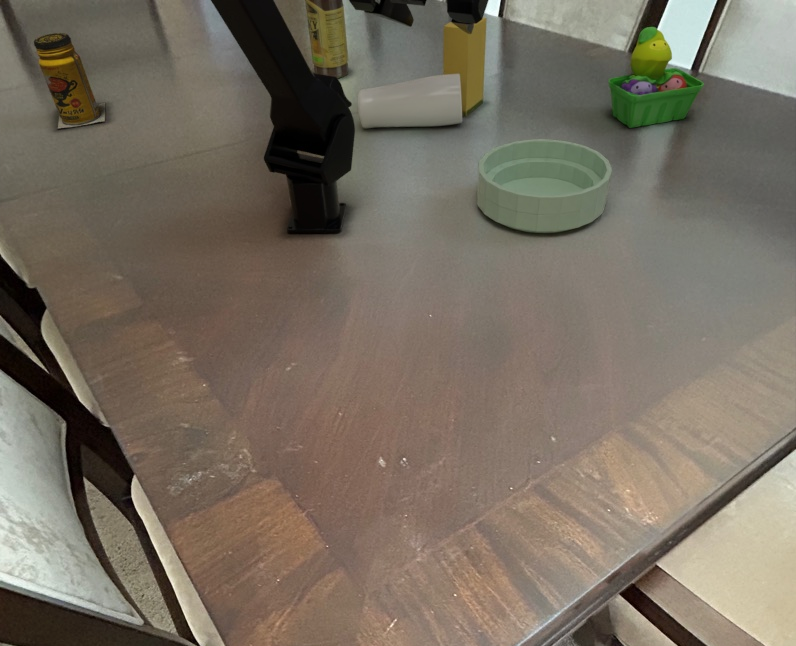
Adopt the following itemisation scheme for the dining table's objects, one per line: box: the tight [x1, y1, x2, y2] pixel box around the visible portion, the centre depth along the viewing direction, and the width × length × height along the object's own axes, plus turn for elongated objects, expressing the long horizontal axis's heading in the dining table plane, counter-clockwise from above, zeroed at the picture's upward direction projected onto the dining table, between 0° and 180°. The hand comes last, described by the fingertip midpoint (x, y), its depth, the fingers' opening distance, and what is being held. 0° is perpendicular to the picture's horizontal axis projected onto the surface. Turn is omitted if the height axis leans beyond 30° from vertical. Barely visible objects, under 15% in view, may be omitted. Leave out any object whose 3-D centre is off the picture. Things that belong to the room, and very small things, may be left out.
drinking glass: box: [357, 73, 463, 129], centre depth 99 cm, size 7×7×15 cm
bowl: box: [476, 138, 613, 234], centre depth 80 cm, size 15×15×5 cm
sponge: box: [442, 17, 488, 117], centre depth 101 cm, size 6×4×12 cm, turn 150°
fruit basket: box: [608, 26, 705, 129], centre depth 95 cm, size 11×9×11 cm
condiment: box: [33, 32, 106, 129], centre depth 105 cm, size 7×8×12 cm
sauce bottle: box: [304, 0, 349, 79], centre depth 112 cm, size 6×6×20 cm
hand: (440, 26), depth 91 cm, fingers open, 9 cm apart
